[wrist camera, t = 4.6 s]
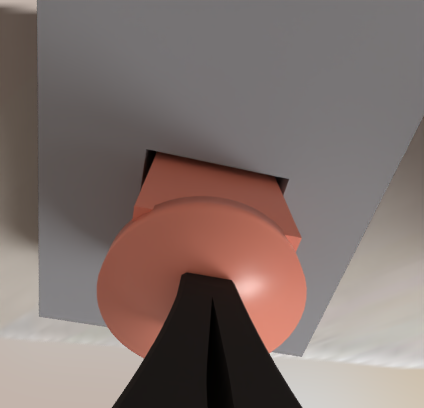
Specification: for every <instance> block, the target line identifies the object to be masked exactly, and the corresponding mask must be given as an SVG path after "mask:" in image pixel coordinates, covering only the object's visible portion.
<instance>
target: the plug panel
mask: <svg viewBox="0 0 424 408" xmlns="http://www.w3.org/2000/svg"><path fill="white" fill-rule="evenodd" d="M37 75H38V227H39V317H45V318H52V319H58V320H65V321H71V322H78V323H84V324H91V325H98V326H104V327H107V325H106V323H105V321H104V320H103V318H102V316H101V313H100V310H99V307H98V301H97V281H98V275H99V272H100V269H101V267H102V264H103V262H104V260H105V257H106V255H107V253H108V251H109V248H110V246H111V244H112V243H113V241H114V239H115V237H116V236H117V235H118V233H119V232H120V231H121V230H122V228H123V227H124V226H125V225H126V224H127V223H128V222H130V221H131V220H132V219H133V212H134V205H135V203H136V201H137V198H138V196H139V194H140V191H141V189H142V186H143V184H144V182H145V179H146V177H147V174H148V172H149V170H150V167H151V165H152V163H153V160H154V158H155V155H156V151H158V152H163V153H168V154H173V155H177V156H182V157H187V158H192V159H196V160H201V161H206V162H211V163H215V164H220V165H225V166H229V167H234V168H239V169H244V170H248V171H253V172H258V173H262V174H266V175H271V176H275V179H276V181H277V183H278V185H279V188H280V190H281V192H282V194H283V197H284V199H285V201H286V203H287V206H288V208H289V210H290V213H291V215H292V217H293V219H294V222H295V224H296V226H297V228H298V231H299V233H300V235H301V237H302V239H301V241H300V244H299V246H298V248H297V251H296V254H297V256H298V259H299V262H300V264H301V267H302V270H303V273H304V276H305V280H306V287H307V295H306V303H305V308H304V311H303V314H302V317H301V319H300V321H299V323H298V325H297V326H296V328H295V329H294V331H293V332H292V333H291V335H290V336H289V337H288V338H287V339H286V340H285V341H284V342H283V343H282V344H281V345H280V346H278V347H277V348H276V349H275V350H273V351H272V352H274V353H281V354H287V355H294V356H300V357H302V355H303V353H304V351H305V349H306V348H307V346H308V344H309V342H310V340H311V338H312V336H313V334H314V332H315V330H316V328H317V326H318V324H319V322H320V320H321V318H322V316H323V314H324V312H325V310H326V308H327V306H328V304H329V302H330V300H331V298H332V296H333V294H334V292H335V290H336V288H337V286H338V284H339V282H340V280H341V278H342V276H343V274H344V272H345V270H346V269H347V267H348V265H349V263H350V261H351V259H352V257H353V255H354V253H355V251H356V249H357V247H358V245H359V243H360V241H361V239H362V237H363V235H364V233H365V231H366V229H367V227H368V225H369V223H370V221H371V219H372V217H373V215H374V213H375V211H376V209H377V207H378V205H379V203H380V201H381V199H382V197H383V195H384V193H385V191H386V189H387V188H388V186H389V184H390V182H391V180H392V178H393V176H394V174H395V172H396V170H397V168H398V166H399V164H400V162H401V160H402V158H403V156H404V154H405V152H406V150H407V148H408V146H409V144H410V142H411V140H412V138H413V136H414V134H415V132H416V130H417V128H418V126H419V124H420V122H421V120H422V118H423V116H424V0H37Z"/></svg>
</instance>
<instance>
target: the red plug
mask: <svg viewBox="0 0 424 408" xmlns="http://www.w3.org/2000/svg"><path fill="white" fill-rule="evenodd" d="M301 239H302V237H301V235H300V233H299V231H298V228H297V226H296V224H295V222H294V219H293V217H292V215H291V213H290V210H289V208H288V206H287V203H286V201H285V199H284V197H283V194H282V192H281V190H280V188H279V185H278V183H277V181H276V179H275V176H271V175H266V174H261V173H256V172H252V171H247V170H242V169H238V168H233V167H228V166H223V165H219V164H214V163H209V162H204V161H200V160H195V159H190V158H185V157H181V156H176V155H171V154H167V153H162V152H157V153H156V155H155V158H154V160H153V163H152V165H151V167H150V170H149V172H148V174H147V177H146V179H145V182H144V184H143V186H142V189H141V191H140V194H139V196H138V198H137V201H136V203H135V205H134V212H133V219H132V220H131V221H130V222H128V223H127V224H126V225H125V226H124V227H123V228H122V230H121V231H120V232H119V233H118V235H117V236H116V237H115V239H114V241H113V243H112V244H111V246H110V248H109V251H108V253H107V255H106V257H105V260H104V262H103V264H102V267H101V269H100V272H99V275H98V281H97V301H98V307H99V310H100V313H101V316H102V318H103V320H104V321H105V323H106V325H107V327H108V328H109V329H110V331H111V332H112V334H113V335H114V336H115V337H116V338H117V339H118V340H119V341H120V342H121V343H122V344H123V345H125V346H126V347H127V348H128V349H130V350H131V351H133V352H134V353H136V354H137V355H139V356H141V357H143V358H145V357H146V355H147V353H148V351H149V350H150V348H151V346H152V345H153V343H154V341H155V340H156V338H157V336H158V334H159V332H160V330H161V328H162V326H163V324H164V322H165V320H166V318H167V316H168V314H169V312H170V310H171V308H172V305H173V303H174V301H175V298H176V295H177V291H178V287H179V283H180V279H181V275H182V274H184V273H186V272H188V273H193V274H199V275H205V276H211V277H217V278H222V279H228V280H232V281H233V282H234V284H235V286H236V288H237V290H238V293H239V295H240V297H241V299H242V301H243V304H244V306H245V308H246V310H247V312H248V314H249V316H250V318H251V320H252V322H253V324H254V326H255V328H256V330H257V332H258V334H259V336H260V338H261V339H262V341H263V343H264V345H265V347H266V349H267V350H268V352H269V353H270V352H272V351H273V350H275V349H276V348H277V347H278V346H280V345H281V344H282V343H283V342H284V341H285V340H286V339H287V338H288V337H289V336H290V335H291V333H292V332H293V331H294V329H295V328H296V326H297V325H298V323H299V321H300V319H301V317H302V314H303V311H304V308H305V303H306V295H307V287H306V280H305V276H304V273H303V270H302V267H301V264H300V262H299V259H298V256H297V254H296V251H297V248H298V246H299V244H300V241H301Z"/></svg>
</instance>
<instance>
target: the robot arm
mask: <svg viewBox="0 0 424 408" xmlns="http://www.w3.org/2000/svg"><path fill="white" fill-rule="evenodd" d="M112 408H302V406H301V405H300V403H299V402H298V400H297V399H296V397H295V396H294V394H293V393H292V391H291V389H290V388H289V386H288V384H287V383H286V381H285V380H284V378H283V376H282V375H281V373H280V372H279V370H278V368H277V367H276V365H275V363H274V361H273V359H272V358H271V356H270V354H269V352H268V350H267V349H266V347H265V345H264V343H263V341H262V339H261V338H260V336H259V334H258V332H257V330H256V328H255V326H254V324H253V322H252V320H251V318H250V316H249V314H248V312H247V310H246V308H245V306H244V304H243V301H242V299H241V297H240V295H239V293H238V290H237V288H236V286H235V284H234V282H233V281H232V280H228V279H222V278H217V277H211V276H205V275H199V274H193V273H188V272H186V273H184V274H182V275H181V279H180V283H179V287H178V291H177V295H176V298H175V301H174V303H173V305H172V308H171V310H170V312H169V314H168V316H167V318H166V320H165V322H164V324H163V326H162V328H161V330H160V332H159V334H158V336H157V338H156V340H155V341H154V343H153V345H152V346H151V348H150V350H149V351H148V353H147V355H146V357H145V358H144V360H143V362H142V363H141V365H140V367H139V368H138V370H137V371H136V373H135V374H134V376H133V377H132V379H131V381H130V382H129V384H128V385H127V387H126V388H125V389H124V391H123V392H122V394H121V395H120V397H119V398H118V400H117V401H116V403H115V404H114V405H113V407H112Z"/></svg>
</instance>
